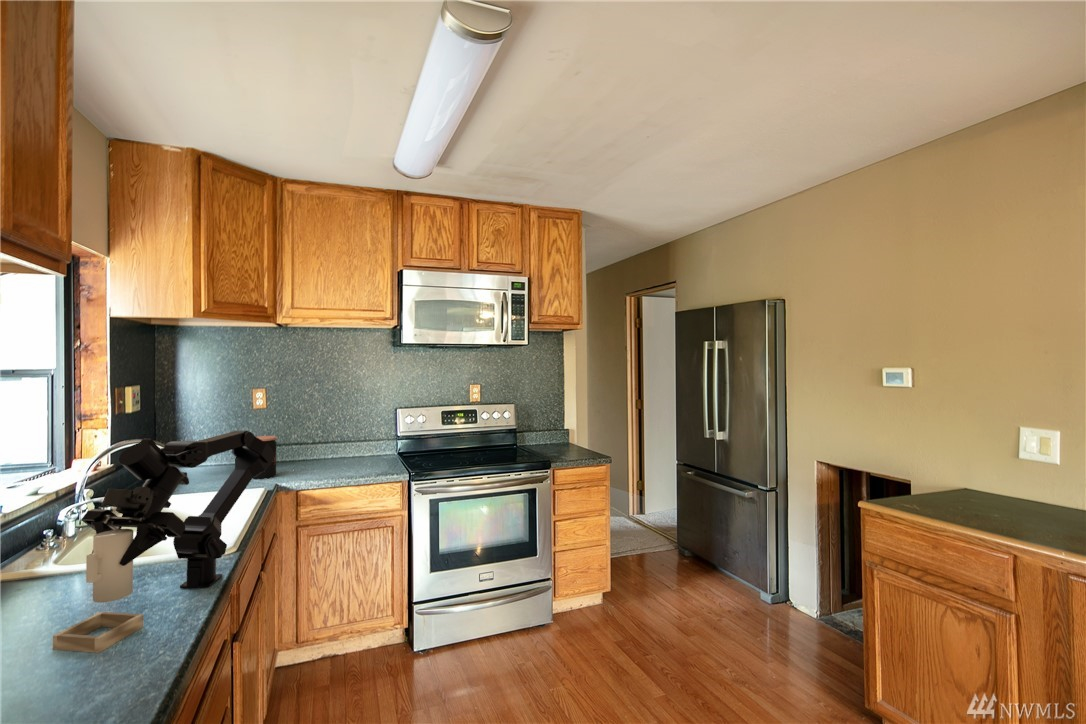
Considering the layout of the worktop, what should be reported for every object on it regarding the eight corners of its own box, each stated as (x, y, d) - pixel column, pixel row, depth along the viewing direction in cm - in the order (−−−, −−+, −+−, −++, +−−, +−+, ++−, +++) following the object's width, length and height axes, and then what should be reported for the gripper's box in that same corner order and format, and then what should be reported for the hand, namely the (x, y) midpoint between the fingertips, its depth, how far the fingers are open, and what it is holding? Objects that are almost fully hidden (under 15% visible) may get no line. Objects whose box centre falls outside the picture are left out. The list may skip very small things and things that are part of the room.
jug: (113, 587, 104) (114, 528, 104) (140, 589, 103) (141, 529, 103) (74, 605, 96) (75, 541, 96) (103, 607, 96) (104, 542, 96)
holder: (101, 624, 103) (101, 611, 103) (143, 627, 102) (143, 614, 102) (52, 649, 94) (52, 635, 94) (98, 652, 93) (98, 638, 93)
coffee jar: (268, 479, 231) (268, 439, 231) (244, 479, 231) (245, 439, 231) (280, 474, 242) (281, 436, 242) (258, 474, 242) (258, 435, 242)
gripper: (90, 469, 106) (31, 542, 95) (174, 472, 104) (123, 547, 93) (125, 498, 113) (74, 568, 102) (204, 501, 111) (160, 573, 100)
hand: (106, 564), depth 99 cm, fingers closed on jug, 6 cm apart
